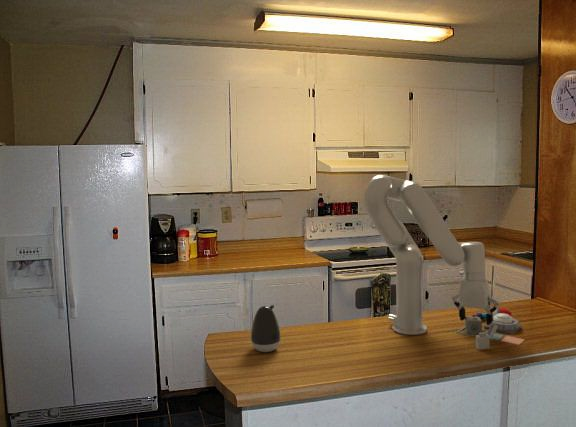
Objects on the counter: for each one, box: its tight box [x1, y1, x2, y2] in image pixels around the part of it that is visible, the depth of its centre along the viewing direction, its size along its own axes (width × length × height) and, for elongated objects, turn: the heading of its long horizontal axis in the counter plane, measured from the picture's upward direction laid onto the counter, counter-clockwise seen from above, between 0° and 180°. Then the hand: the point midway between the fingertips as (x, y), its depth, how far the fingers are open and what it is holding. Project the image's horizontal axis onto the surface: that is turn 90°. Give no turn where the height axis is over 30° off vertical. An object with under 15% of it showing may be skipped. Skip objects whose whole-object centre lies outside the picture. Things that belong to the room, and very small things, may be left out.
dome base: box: [483, 316, 522, 335], centre depth 182 cm, size 10×10×3 cm
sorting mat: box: [456, 326, 525, 346], centre depth 174 cm, size 21×8×1 cm, turn 47°
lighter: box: [475, 323, 498, 351], centre depth 163 cm, size 7×2×8 cm, turn 101°
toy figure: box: [470, 308, 513, 321], centre depth 192 cm, size 8×5×15 cm
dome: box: [494, 313, 513, 324], centre depth 182 cm, size 6×6×4 cm
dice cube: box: [464, 316, 483, 335], centre depth 179 cm, size 5×5×5 cm
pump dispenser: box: [250, 304, 282, 353], centre depth 166 cm, size 10×10×15 cm
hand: (475, 321), depth 178 cm, fingers open, 9 cm apart
